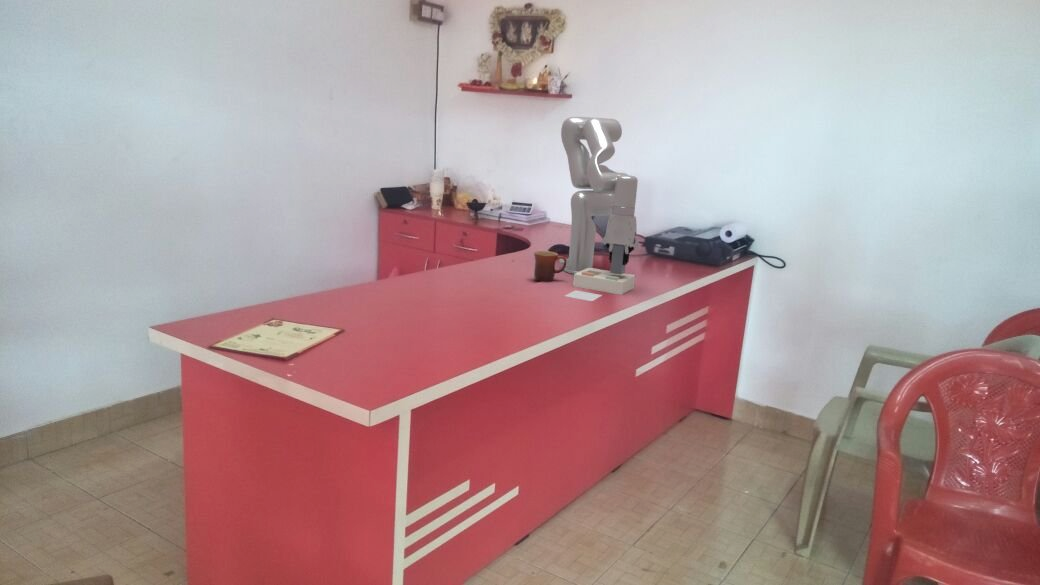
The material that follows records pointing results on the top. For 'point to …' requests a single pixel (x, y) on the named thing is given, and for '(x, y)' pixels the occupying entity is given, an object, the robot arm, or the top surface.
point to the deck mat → (583, 295)
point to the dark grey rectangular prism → (617, 259)
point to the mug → (546, 265)
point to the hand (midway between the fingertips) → (618, 263)
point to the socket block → (604, 281)
